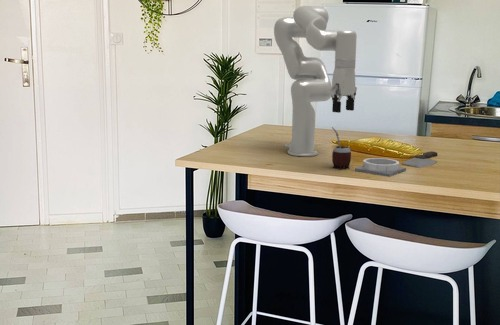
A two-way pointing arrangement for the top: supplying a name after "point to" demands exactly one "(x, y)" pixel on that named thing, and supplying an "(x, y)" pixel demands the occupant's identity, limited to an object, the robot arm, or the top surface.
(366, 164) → the housing
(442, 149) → the top surface
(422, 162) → the cleaver
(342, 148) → the mate gourd
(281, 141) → the top surface
